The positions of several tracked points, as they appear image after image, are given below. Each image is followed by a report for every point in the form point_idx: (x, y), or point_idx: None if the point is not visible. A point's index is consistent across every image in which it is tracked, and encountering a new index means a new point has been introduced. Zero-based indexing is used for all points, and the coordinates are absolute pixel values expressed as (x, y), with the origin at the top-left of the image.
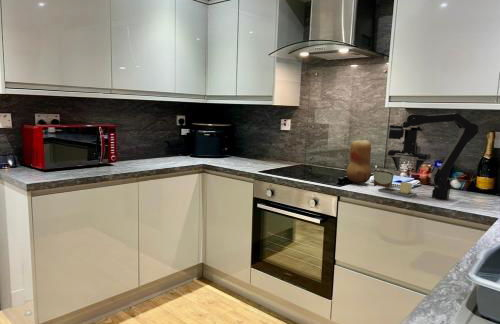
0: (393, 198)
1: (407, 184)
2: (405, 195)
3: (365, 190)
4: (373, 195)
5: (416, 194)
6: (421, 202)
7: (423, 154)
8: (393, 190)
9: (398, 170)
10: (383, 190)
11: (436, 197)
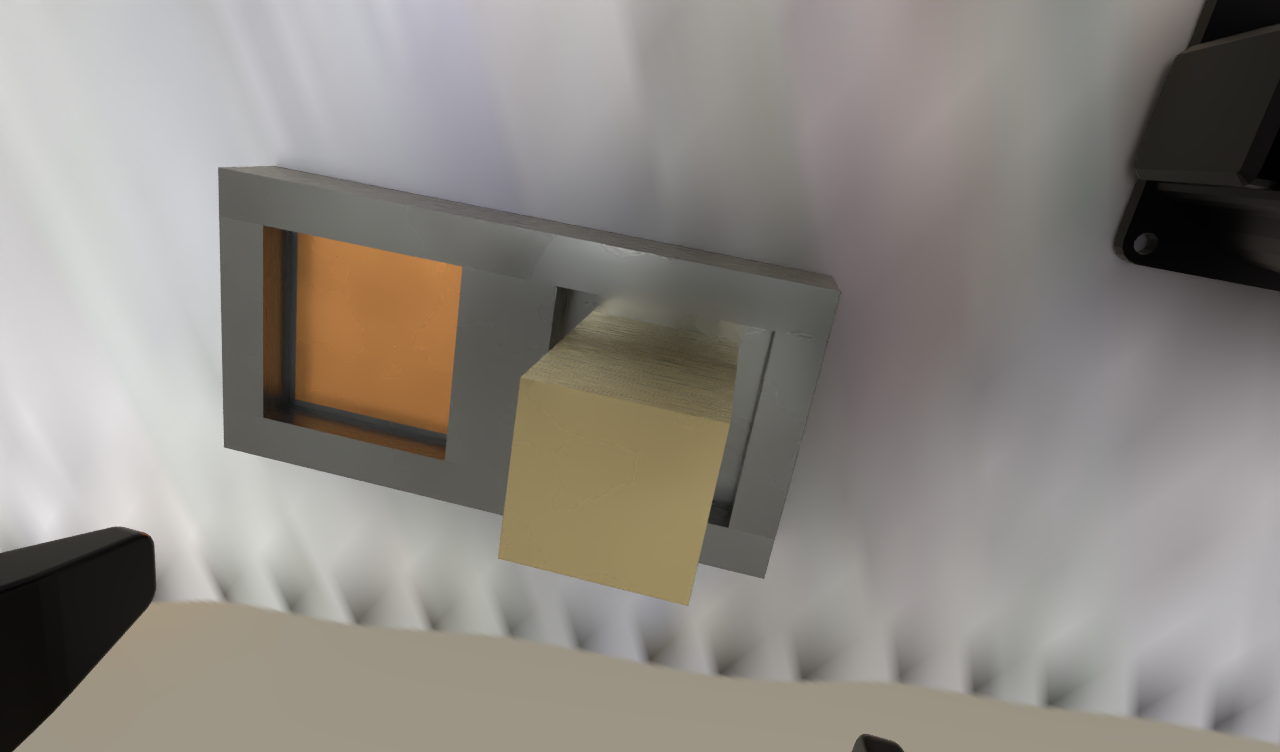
0: (555, 598)
1: (662, 593)
2: None
3: (71, 353)
4: (303, 602)
5: (835, 297)
6: (954, 577)
7: None
8: (401, 250)
9: (151, 557)
10: (314, 464)
11: (1250, 255)
